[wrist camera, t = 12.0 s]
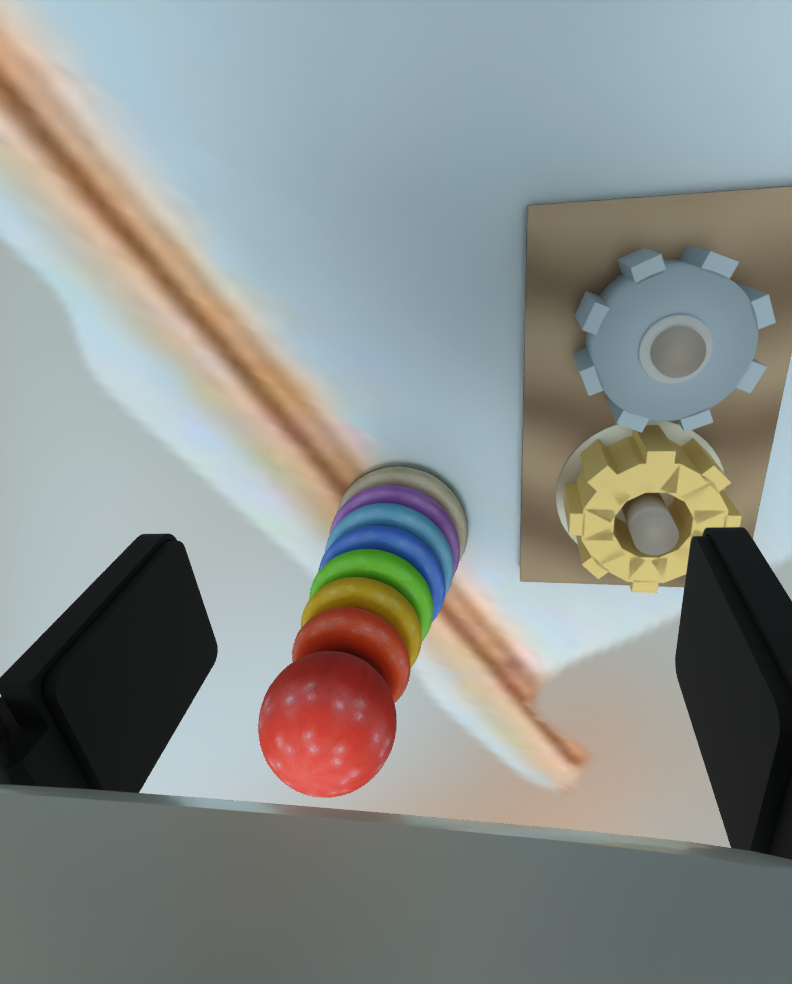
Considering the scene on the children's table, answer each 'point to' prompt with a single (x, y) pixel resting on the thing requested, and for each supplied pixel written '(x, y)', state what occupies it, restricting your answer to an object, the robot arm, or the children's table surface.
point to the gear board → (558, 335)
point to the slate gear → (656, 307)
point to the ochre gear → (632, 473)
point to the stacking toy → (362, 631)
